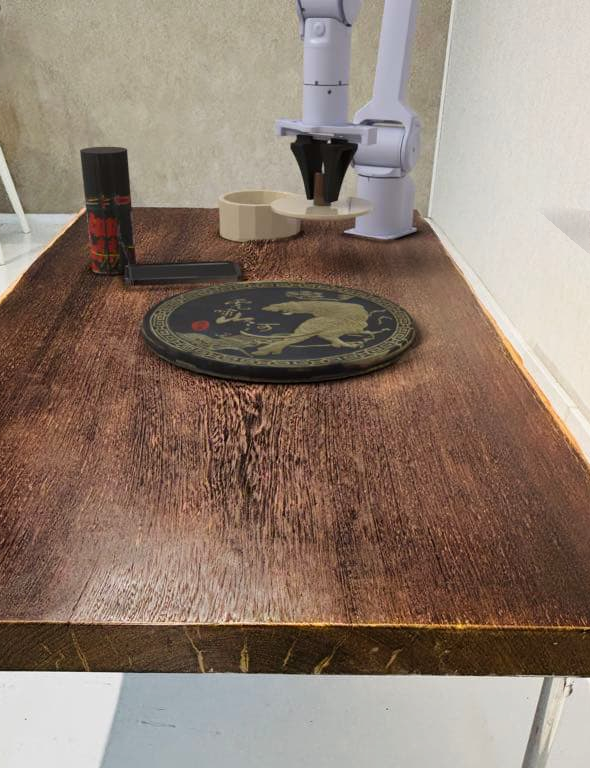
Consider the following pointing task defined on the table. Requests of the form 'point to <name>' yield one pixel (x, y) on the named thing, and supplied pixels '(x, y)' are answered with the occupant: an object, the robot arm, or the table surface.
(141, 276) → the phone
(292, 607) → the table surface
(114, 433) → the table surface
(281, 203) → the cover
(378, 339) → the decorative plate
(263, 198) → the container
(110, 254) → the deodorant
